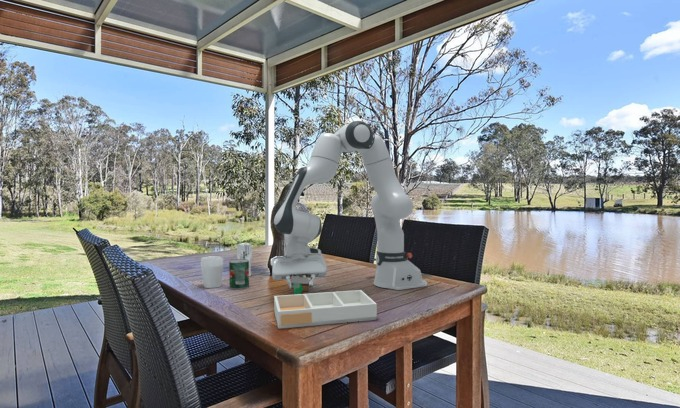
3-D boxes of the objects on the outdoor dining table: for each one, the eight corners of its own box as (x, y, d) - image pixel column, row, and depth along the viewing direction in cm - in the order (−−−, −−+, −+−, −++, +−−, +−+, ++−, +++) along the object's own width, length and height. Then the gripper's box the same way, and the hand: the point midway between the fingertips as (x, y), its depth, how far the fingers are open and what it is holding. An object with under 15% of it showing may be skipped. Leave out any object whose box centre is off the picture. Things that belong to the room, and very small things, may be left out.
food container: (291, 297, 141) (290, 271, 141) (308, 296, 142) (307, 270, 141) (291, 307, 129) (290, 278, 128) (309, 306, 130) (308, 277, 129)
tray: (361, 304, 133) (361, 289, 133) (377, 320, 116) (377, 304, 116) (274, 310, 126) (274, 295, 125) (278, 329, 109) (278, 312, 109)
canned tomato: (225, 287, 156) (225, 260, 156) (242, 283, 162) (242, 258, 162) (236, 290, 151) (235, 263, 150) (253, 286, 157) (252, 260, 156)
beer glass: (248, 277, 172) (248, 245, 172) (234, 277, 174) (233, 244, 173) (254, 274, 179) (254, 243, 178) (241, 273, 180) (240, 242, 180)
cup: (196, 287, 155) (195, 258, 155) (211, 282, 164) (210, 255, 163) (213, 290, 152) (213, 260, 151) (228, 284, 160) (227, 256, 160)
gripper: (270, 251, 139) (272, 284, 130) (324, 249, 144) (330, 281, 135) (269, 261, 143) (271, 294, 134) (322, 259, 148) (327, 290, 139)
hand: (301, 287), depth 135 cm, fingers closed on food container, 5 cm apart
